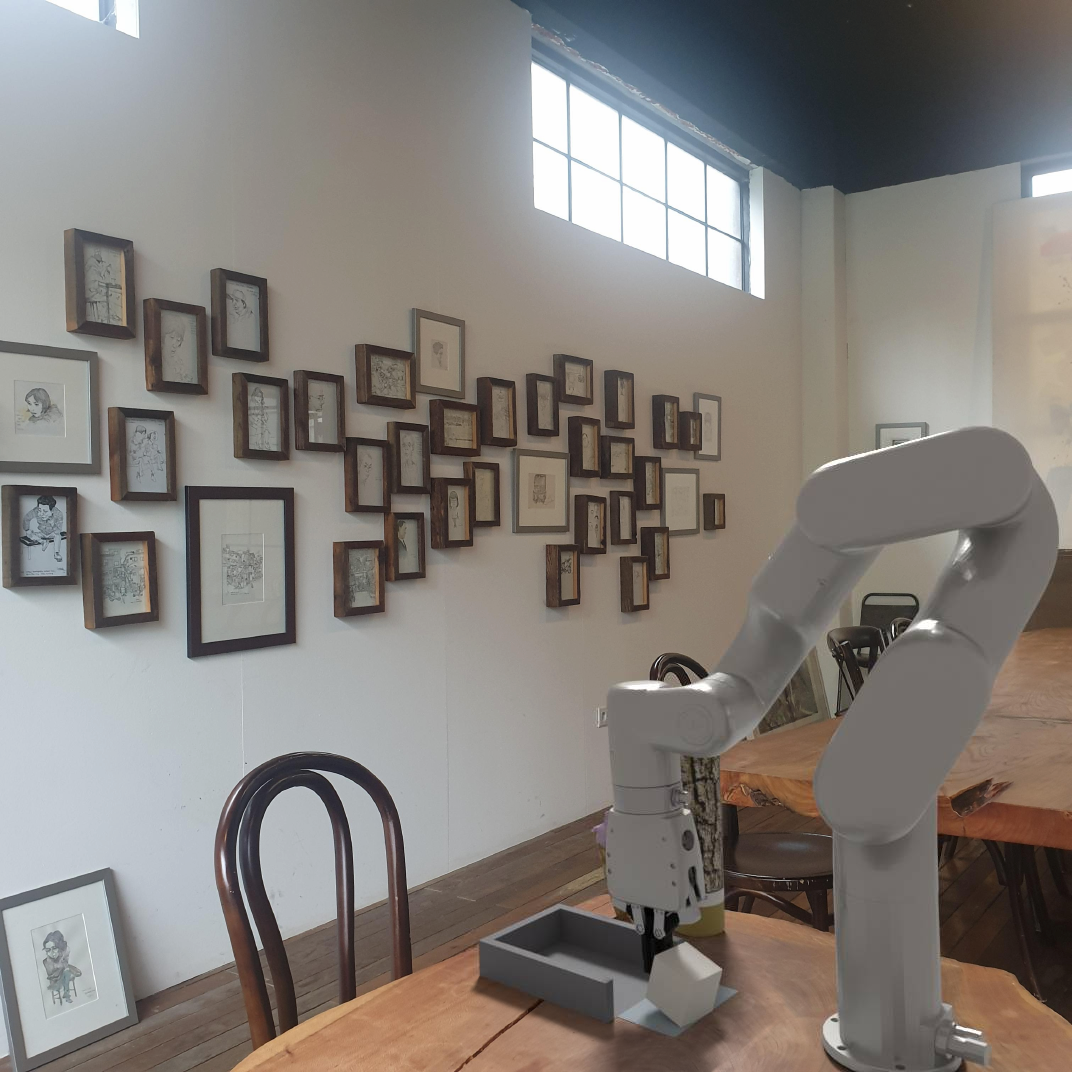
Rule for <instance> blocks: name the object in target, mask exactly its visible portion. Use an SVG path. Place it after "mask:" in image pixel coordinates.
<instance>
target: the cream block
mask: <svg viewBox="0 0 1072 1072" xmlns="http://www.w3.org/2000/svg"><path fill="white" fill-rule="evenodd" d="M722 973H723V968H722V967H720V966H719V965H717V964H716V963H715V962H714V961H713V960H711V959H710V958H708V957H707V956H706V955H704V953H702V952H700V951H699V950H698V949H696V947H694V946H693V945H691V944H690V943H689V942H687V941H684V942H683V943H682V944H680V945H677V946H675V947H673V948H671V949H668V950H666V951H664V952H662V953H660V954H657V955H655V957H654V961H653V966H652V970H651V974H650V979H649V983H648V988H647V992H646V997H645V998H646V999H648V1000H649V1001H650V1002H651V1003H652V1004H654V1005H655V1006H656V1007H657V1008H658V1009H659V1010H661V1011H662V1012H663V1013H664V1014H665V1015H667V1016H668V1017H669V1018H670V1019H671V1020H672V1021H674V1022H675V1023H676V1024H677V1025H678V1026H679V1027H681V1028H682V1027H684V1026H686V1025H688V1024H690V1023H691V1022H693V1021H695V1020H697V1019H699V1018H701V1017H703V1016H704V1015H706V1014H707V1015H709V1014H710V1013H711V1012H713V1011H714V1010H713V1007H714V1003H715V999H716V994H717V990H718V986H719V985H720V982H721V978H722ZM707 1015H706V1016H707ZM704 1017H705V1016H704ZM704 1017H703V1018H704ZM701 1019H702V1018H701Z"/></svg>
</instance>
